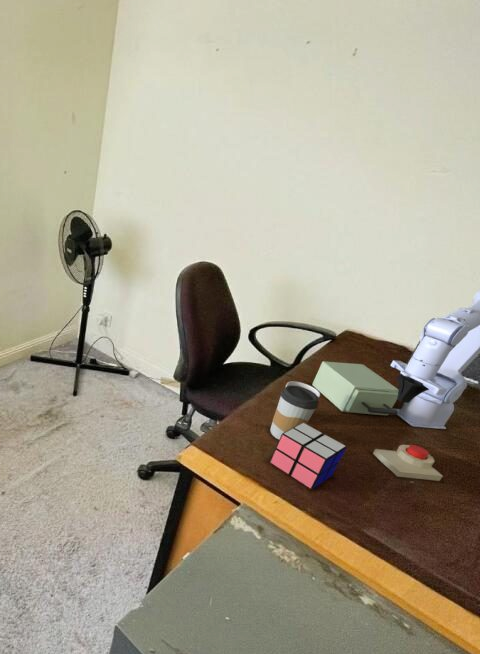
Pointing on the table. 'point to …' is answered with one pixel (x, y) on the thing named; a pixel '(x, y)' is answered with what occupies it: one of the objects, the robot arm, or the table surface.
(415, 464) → the control block
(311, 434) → the puzzle cube
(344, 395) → the mint drawer box
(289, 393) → the coffee cup
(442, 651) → the table surface
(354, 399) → the pull-out drawer
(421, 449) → the button
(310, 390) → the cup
